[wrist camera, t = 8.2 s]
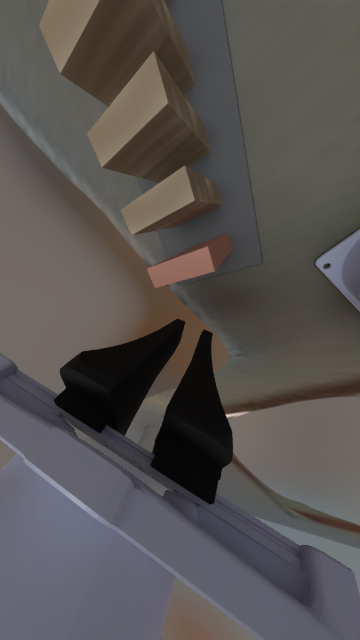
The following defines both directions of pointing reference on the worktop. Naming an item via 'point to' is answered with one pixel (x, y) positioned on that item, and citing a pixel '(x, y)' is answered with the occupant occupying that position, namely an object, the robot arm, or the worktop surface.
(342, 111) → the worktop surface
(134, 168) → the domino
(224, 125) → the mat
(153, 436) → the lumpy-topped squat cylinder
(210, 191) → the domino
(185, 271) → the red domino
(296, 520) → the worktop surface
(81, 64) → the domino
